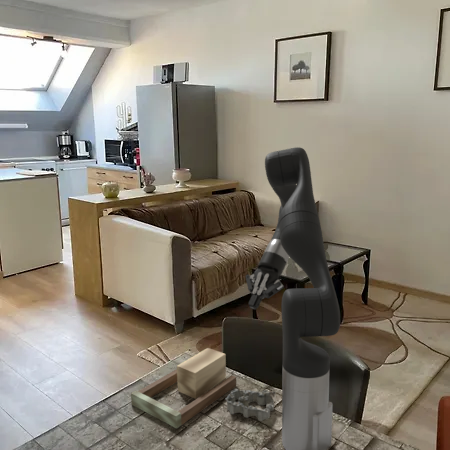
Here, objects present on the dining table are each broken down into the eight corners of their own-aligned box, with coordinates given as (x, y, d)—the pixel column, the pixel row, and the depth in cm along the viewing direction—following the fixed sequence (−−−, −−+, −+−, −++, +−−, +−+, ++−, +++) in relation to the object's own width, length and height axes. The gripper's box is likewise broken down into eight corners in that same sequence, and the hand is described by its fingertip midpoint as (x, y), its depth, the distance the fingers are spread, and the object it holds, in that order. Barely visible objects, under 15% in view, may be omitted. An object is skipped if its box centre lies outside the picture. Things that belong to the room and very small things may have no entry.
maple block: (225, 378, 120) (225, 353, 119) (195, 399, 111) (195, 373, 110) (208, 371, 124) (207, 347, 123) (177, 391, 115) (176, 365, 113)
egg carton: (277, 407, 108) (277, 391, 107) (266, 425, 101) (266, 408, 100) (236, 396, 112) (236, 381, 112) (222, 413, 106) (222, 396, 105)
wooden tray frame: (236, 386, 116) (236, 375, 116) (176, 428, 100) (176, 416, 99) (192, 368, 126) (192, 358, 125) (131, 404, 109) (130, 393, 109)
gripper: (252, 247, 140) (228, 296, 133) (289, 254, 132) (266, 306, 125) (262, 260, 145) (239, 308, 138) (298, 267, 137) (276, 319, 130)
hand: (252, 307), depth 132 cm, fingers closed
